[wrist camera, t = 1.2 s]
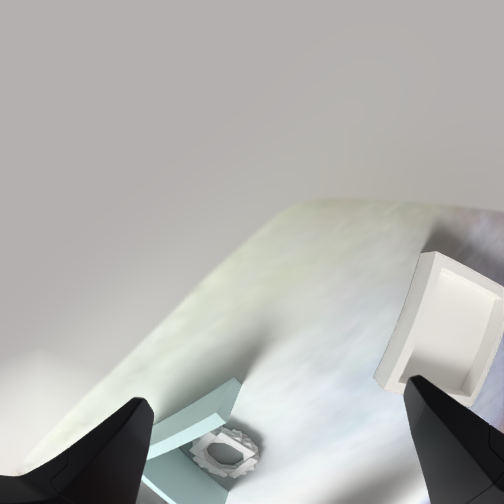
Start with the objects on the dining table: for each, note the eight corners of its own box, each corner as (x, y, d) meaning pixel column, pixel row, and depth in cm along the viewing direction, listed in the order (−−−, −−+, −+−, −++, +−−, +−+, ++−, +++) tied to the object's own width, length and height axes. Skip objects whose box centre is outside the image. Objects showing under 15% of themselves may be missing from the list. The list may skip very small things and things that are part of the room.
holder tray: (457, 396, 20) (471, 406, 17) (372, 377, 21) (383, 390, 18) (497, 292, 20) (514, 293, 17) (420, 253, 21) (436, 251, 18)
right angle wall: (224, 490, 23) (209, 532, 15) (153, 423, 24) (120, 458, 17) (310, 451, 22) (315, 499, 14) (235, 373, 23) (216, 412, 16)
